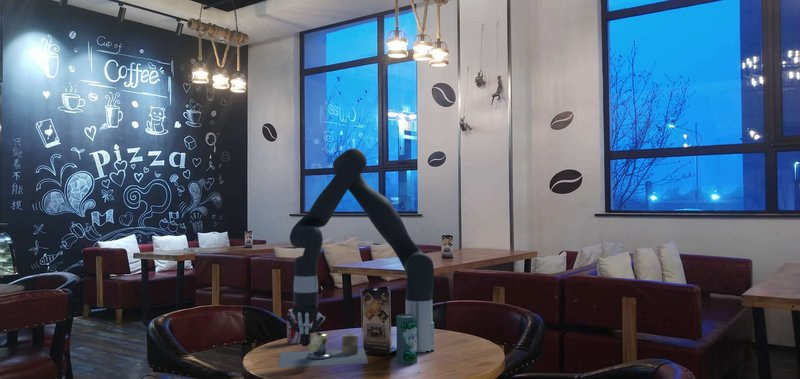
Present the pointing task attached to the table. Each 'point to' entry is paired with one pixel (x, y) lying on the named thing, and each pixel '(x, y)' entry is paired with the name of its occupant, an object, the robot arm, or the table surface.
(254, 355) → the table surface
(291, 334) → the soda can
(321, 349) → the post
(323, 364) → the mat
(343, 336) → the keeper
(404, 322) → the can
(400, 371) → the table surface
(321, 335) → the swing bar
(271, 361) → the table surface
